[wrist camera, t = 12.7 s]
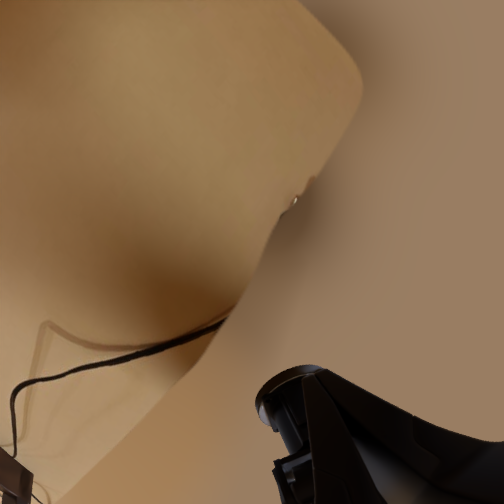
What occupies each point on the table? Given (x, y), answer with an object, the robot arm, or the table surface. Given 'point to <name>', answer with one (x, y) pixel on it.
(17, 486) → the backrest rail
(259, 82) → the table surface
